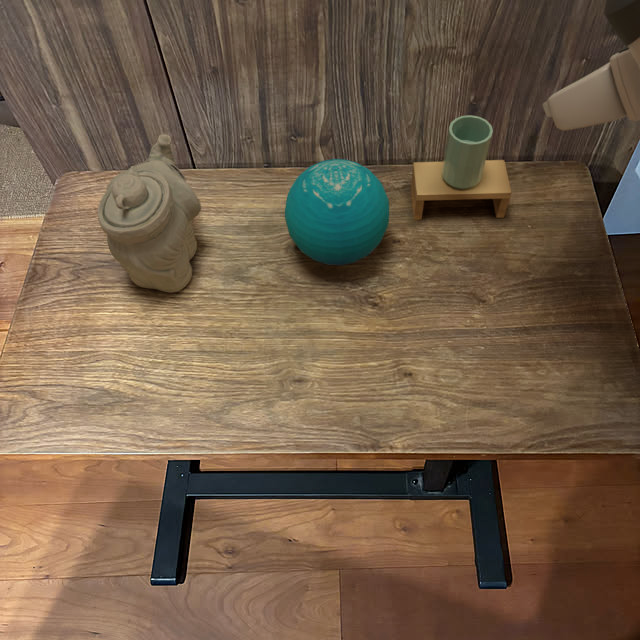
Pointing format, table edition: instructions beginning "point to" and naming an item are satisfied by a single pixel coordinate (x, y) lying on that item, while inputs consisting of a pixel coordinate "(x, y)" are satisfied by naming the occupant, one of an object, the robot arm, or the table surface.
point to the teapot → (152, 221)
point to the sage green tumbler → (466, 151)
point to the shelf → (434, 187)
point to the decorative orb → (337, 212)
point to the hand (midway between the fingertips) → (576, 92)
